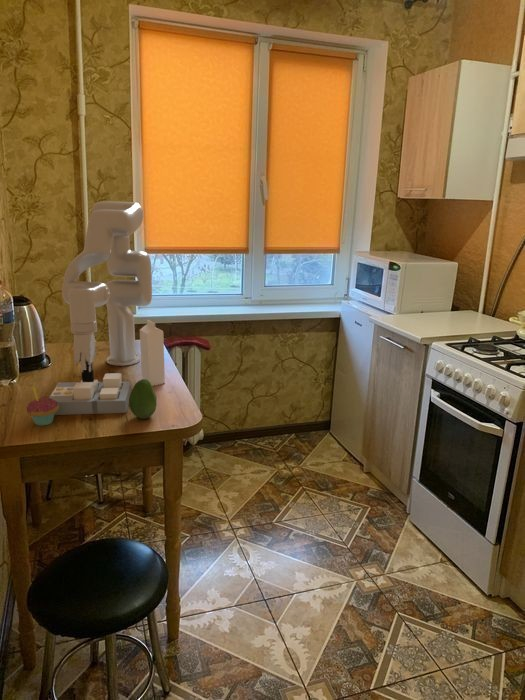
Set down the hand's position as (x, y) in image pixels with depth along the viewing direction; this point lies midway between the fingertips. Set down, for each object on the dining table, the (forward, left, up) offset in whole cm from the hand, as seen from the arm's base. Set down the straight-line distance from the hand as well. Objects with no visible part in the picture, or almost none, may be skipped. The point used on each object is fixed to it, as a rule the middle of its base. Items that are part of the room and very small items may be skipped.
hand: (88, 382), depth 169 cm
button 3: (0, +8, -3) cm, 8 cm away
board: (+4, +1, -6) cm, 7 cm away
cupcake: (+17, -10, -6) cm, 20 cm away
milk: (-13, +19, -6) cm, 24 cm away
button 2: (0, 0, -5) cm, 5 cm away
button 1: (+7, 0, -3) cm, 8 cm away
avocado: (+16, +18, -6) cm, 25 cm away
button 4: (+7, +7, -5) cm, 12 cm away
